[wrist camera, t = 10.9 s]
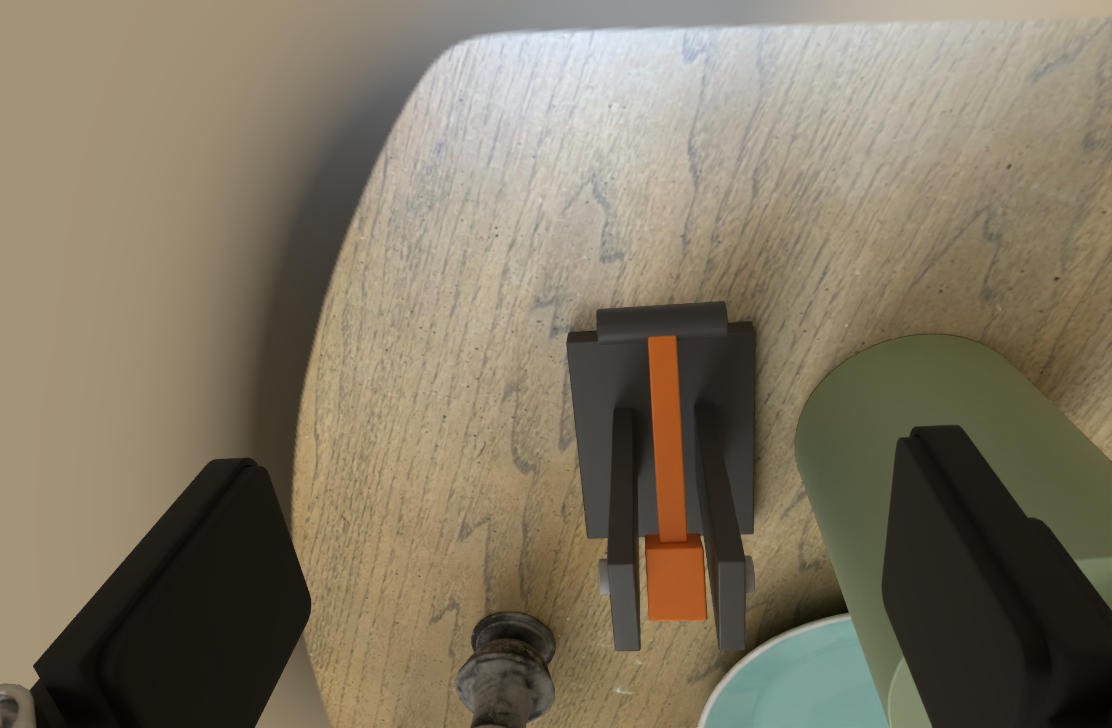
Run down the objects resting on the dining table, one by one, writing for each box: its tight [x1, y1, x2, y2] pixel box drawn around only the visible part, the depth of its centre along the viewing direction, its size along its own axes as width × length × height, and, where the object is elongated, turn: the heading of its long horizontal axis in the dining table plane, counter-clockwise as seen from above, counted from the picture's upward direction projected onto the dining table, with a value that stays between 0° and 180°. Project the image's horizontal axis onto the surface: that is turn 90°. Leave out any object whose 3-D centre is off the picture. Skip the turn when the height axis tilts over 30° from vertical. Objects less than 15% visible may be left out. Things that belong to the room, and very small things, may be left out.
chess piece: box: [456, 612, 555, 728], centre depth 42 cm, size 6×6×12 cm
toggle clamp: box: [566, 322, 756, 651], centre depth 34 cm, size 12×9×13 cm
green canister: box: [795, 334, 1112, 728], centre depth 31 cm, size 12×13×18 cm
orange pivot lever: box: [596, 301, 728, 621], centre depth 30 cm, size 12×5×2 cm, turn 6°
